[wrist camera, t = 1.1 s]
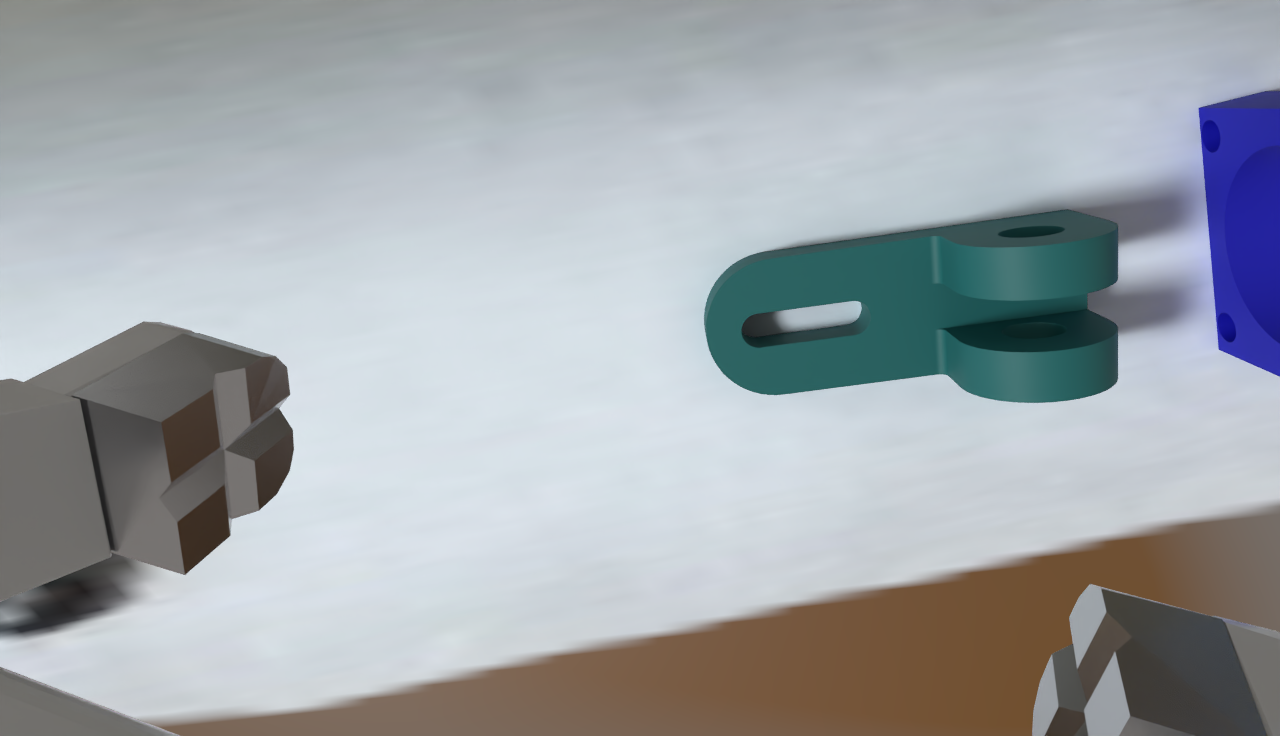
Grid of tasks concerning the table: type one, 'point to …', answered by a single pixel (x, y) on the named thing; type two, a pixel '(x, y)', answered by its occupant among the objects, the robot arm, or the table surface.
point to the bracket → (932, 310)
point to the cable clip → (1245, 223)
